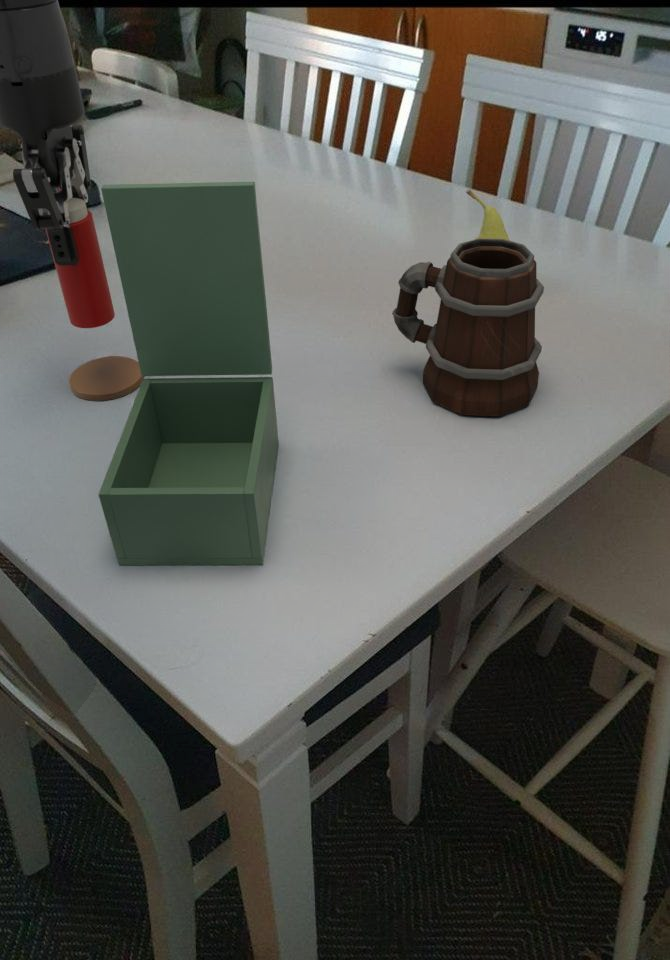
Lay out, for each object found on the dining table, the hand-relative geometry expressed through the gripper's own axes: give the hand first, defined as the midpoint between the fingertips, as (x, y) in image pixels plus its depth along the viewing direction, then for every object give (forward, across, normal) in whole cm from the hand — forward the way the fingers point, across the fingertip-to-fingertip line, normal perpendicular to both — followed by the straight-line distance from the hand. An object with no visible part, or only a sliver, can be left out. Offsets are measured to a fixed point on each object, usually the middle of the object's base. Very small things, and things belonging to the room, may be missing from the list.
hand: (75, 251), depth 80 cm
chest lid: (-2, +12, +14) cm, 19 cm away
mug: (+15, +1, +39) cm, 42 cm away
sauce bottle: (+7, 0, 0) cm, 7 cm away
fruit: (+15, -22, +44) cm, 52 cm away
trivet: (+15, 0, 0) cm, 15 cm away
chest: (+15, +20, +14) cm, 29 cm away
